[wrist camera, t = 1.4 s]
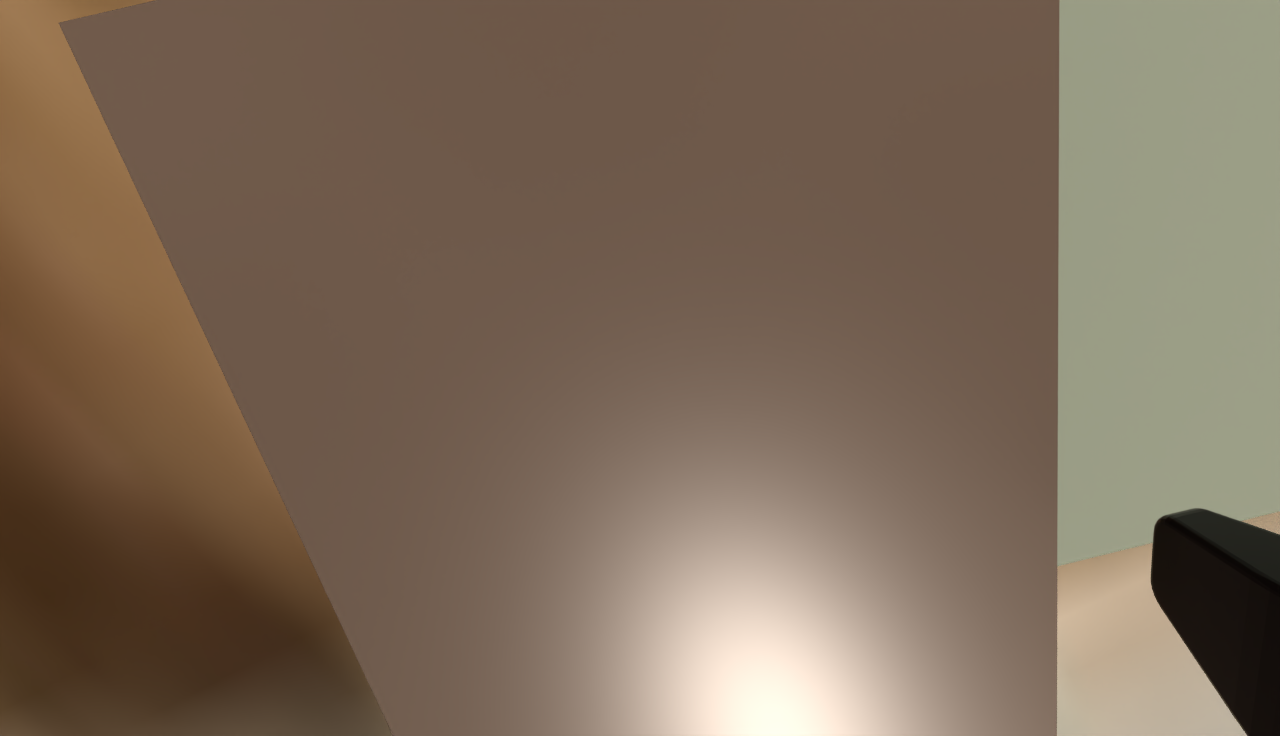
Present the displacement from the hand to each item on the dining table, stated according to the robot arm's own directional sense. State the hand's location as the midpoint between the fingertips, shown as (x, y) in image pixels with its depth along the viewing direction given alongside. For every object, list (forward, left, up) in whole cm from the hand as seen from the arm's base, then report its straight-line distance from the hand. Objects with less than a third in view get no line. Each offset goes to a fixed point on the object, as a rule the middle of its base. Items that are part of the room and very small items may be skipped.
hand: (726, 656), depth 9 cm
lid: (0, 0, -3) cm, 3 cm away
